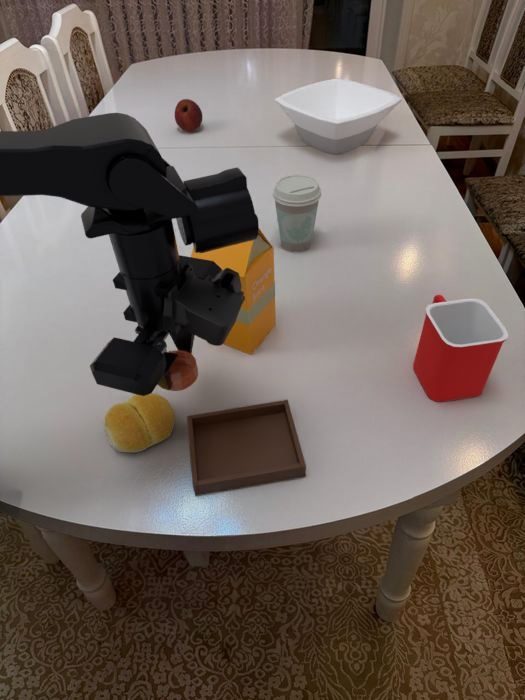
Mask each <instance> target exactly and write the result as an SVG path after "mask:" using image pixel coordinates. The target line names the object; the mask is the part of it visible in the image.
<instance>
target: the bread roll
mask: <svg viewBox="0 0 525 700" xmlns="http://www.w3.org/2000/svg"><path fill="white" fill-rule="evenodd" d="M175 423H176V412H175V409H174V407H173V406H172V404H171V403H170V401H169V400H168V399H167V398H166V397H164V396H163V395H160V394H158V393H153V392H152V393H151V394H148V395H145V396H141V395H137V394H133V395H132V396H131V397H129V398H128V399H127V400H124V401H123V402H119V403H116V404H114V405H113V406H112V407H110V408H109V410H107V412H106V414H105V416H104V433H105V435H106V437H107V439H108V442H109V444H110V446H112V448H113V450H114V451H116V452H120V453H129V454H130V453H131V454H135V453H140V452H142V451H144V450H146V449H148V448H150V447H152V446H154V445H156V444H159V443H161V442H163V441H165V440H166V439H168V438H169V437H170V436H171V434H172V432H173V430H174V427H175Z"/></svg>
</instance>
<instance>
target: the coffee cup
mask: <svg viewBox="0 0 525 700" xmlns="http://www.w3.org/2000/svg"><path fill="white" fill-rule="evenodd" d="M321 197H322V189H321V187H320V184H319V181H318V180H317V179H316V178H314V177H313V176H310V175H307V174H289V175H285V176H282V177H280V178H279V179H278V180H277V181H276V182H275V185H274V188H273V190H272V198H273V199H274V205H275V211H276V218H277V225H278V232H279V233H278V234H279V238H280V245H281V247H282V248H283V249H284V250H286V251H289V252H295V253H297V252H304V251H306V250H309V248H311V246H312V242H313V237H314V232H315V225H316V220H317V215H318V214H317V213H318V208H319V201H320V199H321Z"/></svg>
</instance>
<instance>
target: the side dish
mask: <svg viewBox="0 0 525 700" xmlns="http://www.w3.org/2000/svg"><path fill="white" fill-rule="evenodd" d="M169 352H170V353H174V354H178V356H177V358H176V359H175V361H174V363H173V364H172V366H171V367H170V374H171V384H172V387H171V389H170V390H169V391H171V392H180V391H184V390H186V389H188V388H190V387H191V386H192V385H194V383H195V382H196V381H197V379H198V376H199V368H198V364H197V359H196V357H195V356H194V355H193V353H192V354H191V353H189V352H187V351H182V350H178V349H175V350H170V351H169ZM165 390H166V391H168V390H167V389H165Z"/></svg>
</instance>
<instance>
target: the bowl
mask: <svg viewBox="0 0 525 700" xmlns="http://www.w3.org/2000/svg"><path fill="white" fill-rule="evenodd" d="M274 101H275V103H276V104H277V105H278V106H279V108H280V110H282V112H283V113H284V114H285V115H286V116H287V117H288V118H289V120H290V121H291V122H292V123H293V124H294V126H295V129H296V131H297V134H298V137H299V139H300V140H301V141H302V142H303V143H305V145H308V146H310V147H312V148H315V149H316V150H319V151H322V152H324V153H327V154H331V155H340V154H344V153H346V152H349V151H352V150H355V149H358V148H359V147H361V146H363V145H365V144H366V143H368V142H369V141H370V140H371V138H372V136H373V135H374V132H375V131H376V129H377V128H378V125H379V124H380V123H381V122H382V121H383V120H384V119H385V118H386V117H388V115H389V114H390V113H391V112H392V111H393V110H394V109H395V108H396V107H397V106H398V105H399V104H400V103H401V102H402V98H401V97H400V96H399V95H396V94H394V93H392V92H390V91H388V90H384V89H381V88H378V87H374V86H371V85H369V84H365V83H362V82H359V81H354V80H350V79H344V78H339V77H338V78H337V77H336V78H331V79H328V80H327V79H325V80H321V81H318V82H315V83H311V84H307V85H303V86H301V87H297V88H296V89H295V88H294V89H292V90H290V91H287V92H286V93H284V94H282V95H280V96H278V97H276V98H275V99H274Z"/></svg>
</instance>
